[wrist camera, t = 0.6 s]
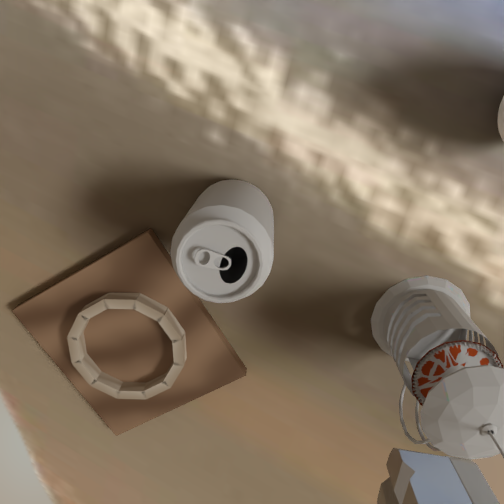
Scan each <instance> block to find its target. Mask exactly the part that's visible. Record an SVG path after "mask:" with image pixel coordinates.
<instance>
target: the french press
mask: <svg viewBox="0 0 504 504" xmlns="http://www.w3.org/2000/svg"><path fill="white" fill-rule="evenodd" d="M371 326H372V334H373V337H374V339H375V340H376V342H377V343H378V345H379V346H380V348H381V349H382V350H383V351H384V352H386V353H388V354H389V355H391V356H392V357H393V358H394V360H395V362H396V365H397V367H398V369H399V371H400V374H401V376H402V378H403V380H404V385H403V389H402V392H401V396H400V400H399V411H400V421H401V424H402V427H403V430H404V432H405V435H406V436H407V437H408V438H409V440H411V441H412V442H413V443H415V444H426V445H427V446H428V447H429V448H431V449H432V450H434V451H443V452H444V453H446V454H448V455H449V456H454V457H460V458H465V459H477V458H486V457H492V456H494V455H497V454H499V453H501V454H502V456H503V458H504V368H503V365H502V363H501V361H500V360H499V358H498V353H497V352H496V350H495V348H494V347H493V345H492V344H491V343H490V341H489V340H488V339H487V338H486V336H485V335H484V334H483V333H482V332H481V330H480V329H479V328H478V327H477V326H476V324H475V323H474V322H473V321H472V320H471V319H470V304H469V303H468V301H467V299H466V297H465V296H464V294H463V292H462V290H461V289H459V288H458V287H456V286H455V285H453V284H452V283H451V282H449V281H448V280H446V279H441V278H436V277H431V276H421V277H415V278H409V279H405V280H403V281H402V282H400V283H398V284H396V285H394V286H392V287H391V288H389V289H388V290H387V291H386V292H385V293H384V295H383V296H382V297H381V298H380V299H379V300H378V301H377V303H376V305H375V308H374V311H373V314H372V317H371ZM467 330H469V341H466V337H467ZM472 331H474V336H475V342H472V339H473V334H472ZM477 333H479V336H480V343H478V337H477ZM483 336H484V338H485V340H486V346H487V347H486V346H485V345H484V343H483ZM404 361H409V362H410V363H411V365H412V367H413V369H414V372H413V375H412V377H411V375H410V373H409V371H408V368H407V366H406V364H405V362H404ZM406 386H407V387H408V389H409V390H410V392H411V393H412V395H413V396H415V397H416V399H417V402H416V408H415V416H416V425H417V429H418V431H419V434H420V436H421V438H422V440H423V441H417V440H415V439H414V438H412V437H411V436H410V435H409V433H408V432H407V429H406V426H405V423H404V420H403V413H402V402H403V396H404V392H405V388H406ZM419 403H420V405H422V409H421V425H422V430H423V432H424V433H425V435H426V436H427V438H428V439H426V440H425V438H424V435H423V433H422V431H421V428H420V424H419V418H418V406H419ZM428 442H431V444H432V445H433V446H434V447H433V446H431V445H430V444H429V443H428Z"/></svg>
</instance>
